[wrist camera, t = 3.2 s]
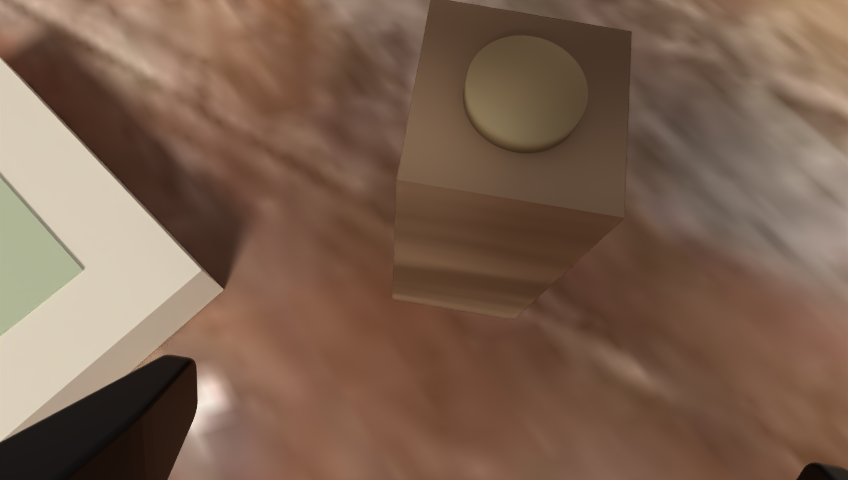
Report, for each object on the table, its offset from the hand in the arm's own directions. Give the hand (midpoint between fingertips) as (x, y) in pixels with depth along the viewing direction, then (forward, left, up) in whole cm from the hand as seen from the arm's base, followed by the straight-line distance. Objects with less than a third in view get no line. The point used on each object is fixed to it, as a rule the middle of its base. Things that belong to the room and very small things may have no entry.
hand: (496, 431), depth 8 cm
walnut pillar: (+5, +4, -11) cm, 13 cm away
